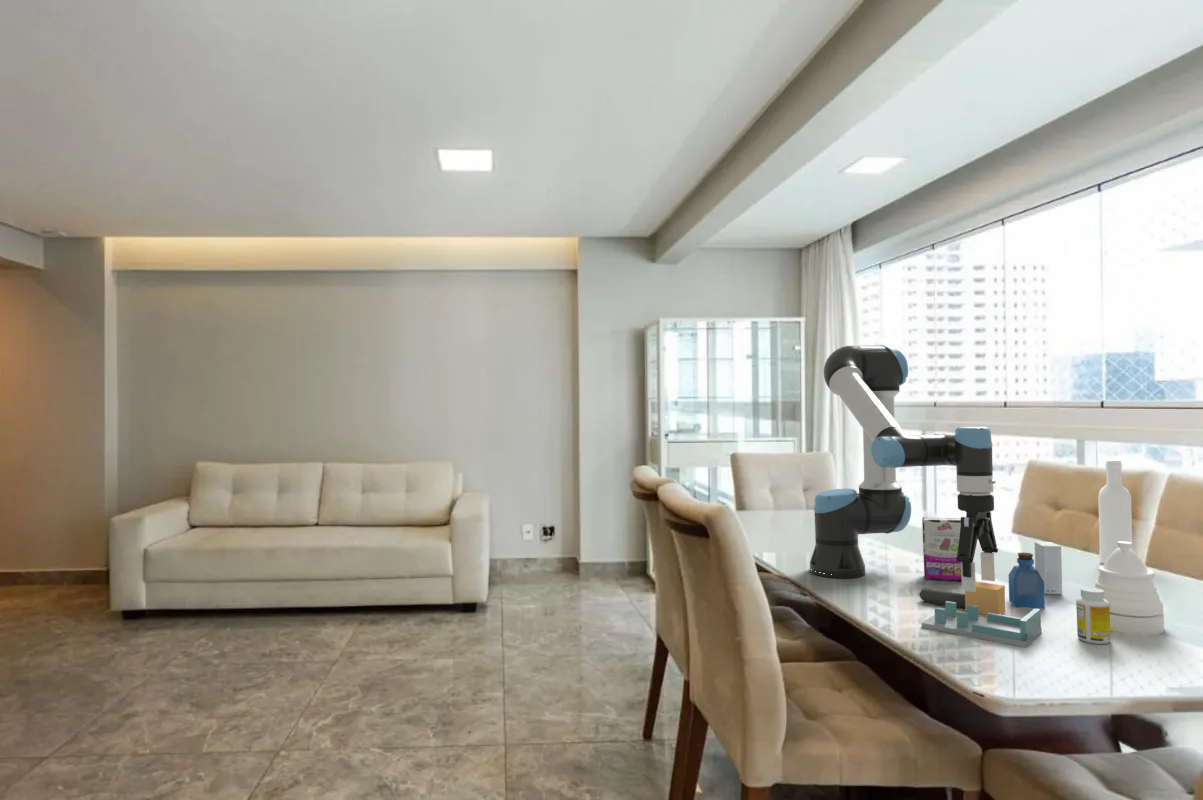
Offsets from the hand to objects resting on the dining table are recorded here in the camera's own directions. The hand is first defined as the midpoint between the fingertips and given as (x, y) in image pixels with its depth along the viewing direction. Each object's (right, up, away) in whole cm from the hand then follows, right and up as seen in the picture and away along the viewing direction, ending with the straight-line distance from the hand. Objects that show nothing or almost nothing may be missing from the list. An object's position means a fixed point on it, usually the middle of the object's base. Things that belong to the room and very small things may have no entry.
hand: (978, 585), depth 169 cm
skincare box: (+25, -5, +15) cm, 30 cm away
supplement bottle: (+12, -6, -22) cm, 26 cm away
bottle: (+62, -5, +42) cm, 75 cm away
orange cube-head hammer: (-3, -6, +3) cm, 7 cm away
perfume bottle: (+13, -6, +4) cm, 15 cm away
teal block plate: (-7, -6, -14) cm, 17 cm away
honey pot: (+25, -5, -13) cm, 29 cm away
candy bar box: (+7, -6, +30) cm, 31 cm away
